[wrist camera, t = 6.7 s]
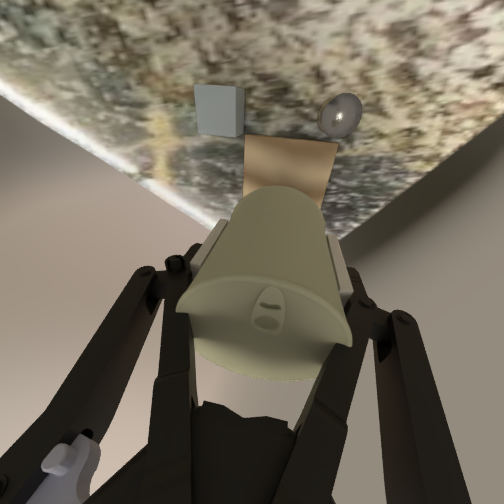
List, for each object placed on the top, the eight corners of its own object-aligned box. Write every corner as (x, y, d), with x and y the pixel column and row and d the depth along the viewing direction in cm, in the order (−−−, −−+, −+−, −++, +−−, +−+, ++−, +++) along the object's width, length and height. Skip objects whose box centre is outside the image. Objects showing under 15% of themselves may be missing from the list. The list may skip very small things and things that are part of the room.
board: (246, 134, 29) (245, 134, 28) (337, 142, 27) (339, 143, 26) (243, 214, 37) (242, 217, 36) (314, 224, 35) (314, 227, 34)
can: (341, 196, 16) (405, 320, 7) (307, 275, 22) (316, 404, 12) (234, 175, 17) (153, 262, 7) (227, 257, 22) (177, 367, 13)
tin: (321, 95, 25) (327, 91, 20) (354, 97, 24) (368, 94, 20) (313, 131, 27) (317, 136, 22) (343, 134, 27) (353, 139, 22)
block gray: (208, 87, 26) (193, 83, 23) (245, 89, 26) (235, 86, 22) (211, 130, 29) (198, 134, 26) (243, 133, 29) (235, 137, 25)
